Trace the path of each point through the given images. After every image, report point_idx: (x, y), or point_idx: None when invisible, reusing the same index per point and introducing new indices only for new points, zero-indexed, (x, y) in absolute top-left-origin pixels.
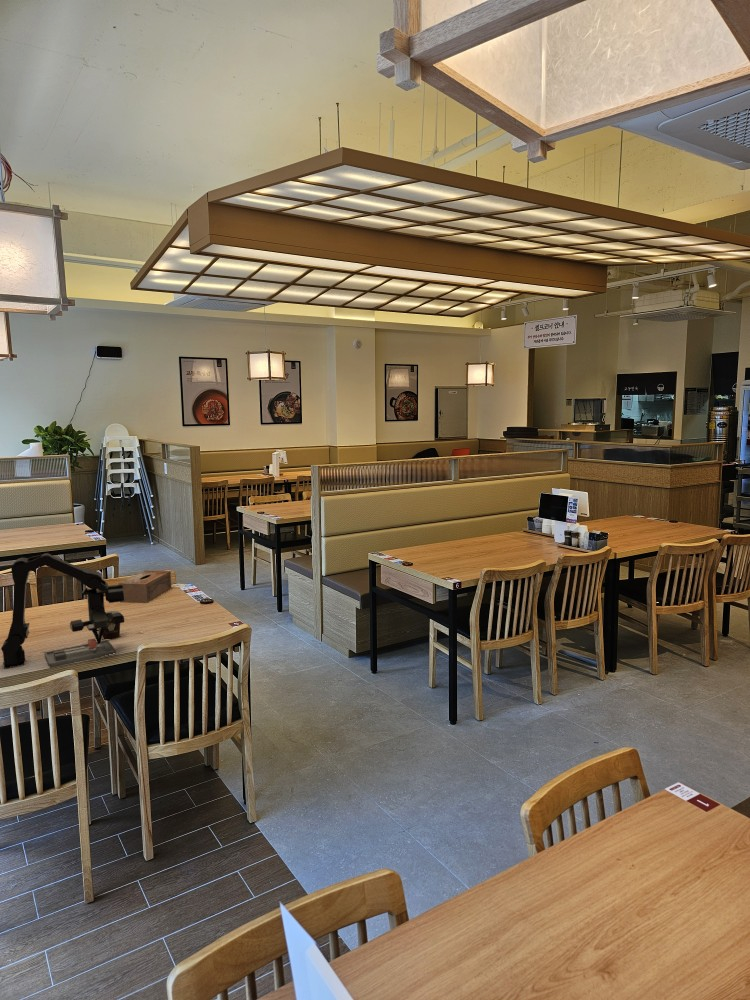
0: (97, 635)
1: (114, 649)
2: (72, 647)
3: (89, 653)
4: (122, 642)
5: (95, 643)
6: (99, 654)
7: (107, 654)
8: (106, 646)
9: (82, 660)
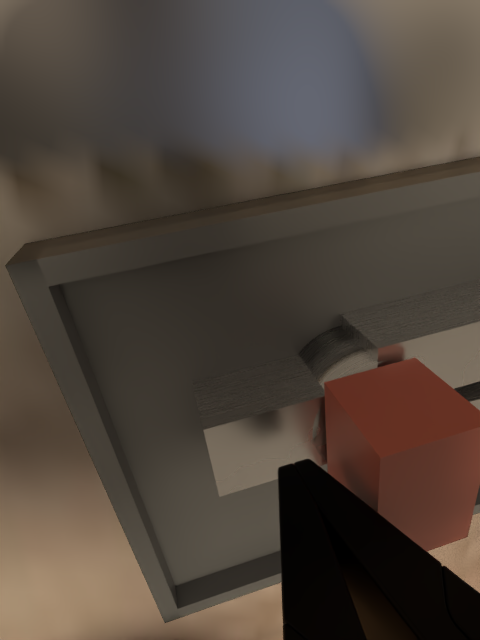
0: (409, 597)
1: (35, 297)
2: (476, 502)
3: (388, 308)
4: (6, 587)
5: (372, 420)
6: (280, 206)
7: (157, 224)
8: (176, 489)
9: (477, 159)
